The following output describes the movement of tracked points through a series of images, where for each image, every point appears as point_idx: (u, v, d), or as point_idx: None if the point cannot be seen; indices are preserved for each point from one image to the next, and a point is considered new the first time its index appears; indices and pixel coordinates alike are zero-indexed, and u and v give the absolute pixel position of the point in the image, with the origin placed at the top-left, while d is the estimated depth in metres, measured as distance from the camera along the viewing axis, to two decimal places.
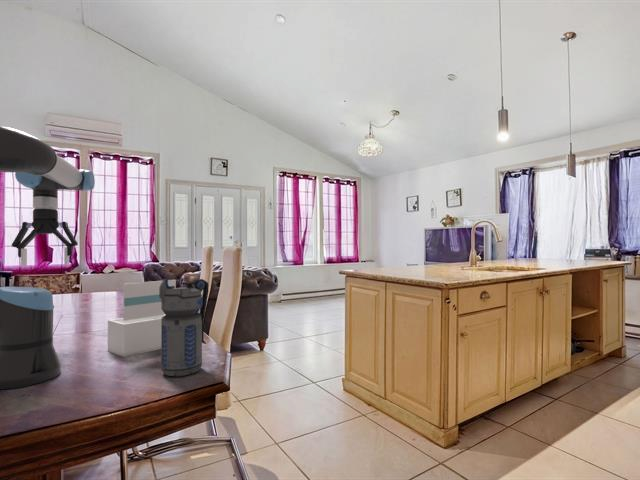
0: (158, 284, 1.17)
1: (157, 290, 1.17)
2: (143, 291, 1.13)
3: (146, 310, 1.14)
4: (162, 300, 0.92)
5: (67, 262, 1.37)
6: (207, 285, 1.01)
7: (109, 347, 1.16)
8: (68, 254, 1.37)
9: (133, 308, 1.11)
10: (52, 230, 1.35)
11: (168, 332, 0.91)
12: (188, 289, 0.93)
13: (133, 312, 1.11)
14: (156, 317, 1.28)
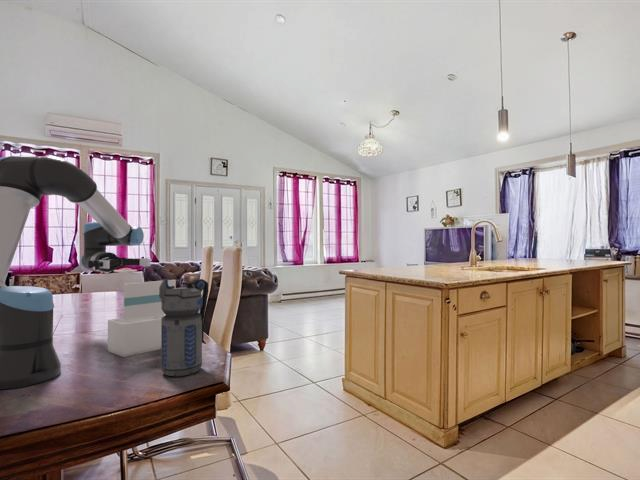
0: (158, 284, 1.17)
1: (157, 290, 1.17)
2: (143, 291, 1.13)
3: (146, 310, 1.14)
4: (162, 300, 0.92)
5: None
6: (207, 285, 1.01)
7: (109, 347, 1.16)
8: None
9: (133, 308, 1.11)
10: None
11: (168, 332, 0.91)
12: (188, 289, 0.93)
13: (133, 312, 1.11)
14: (156, 317, 1.28)
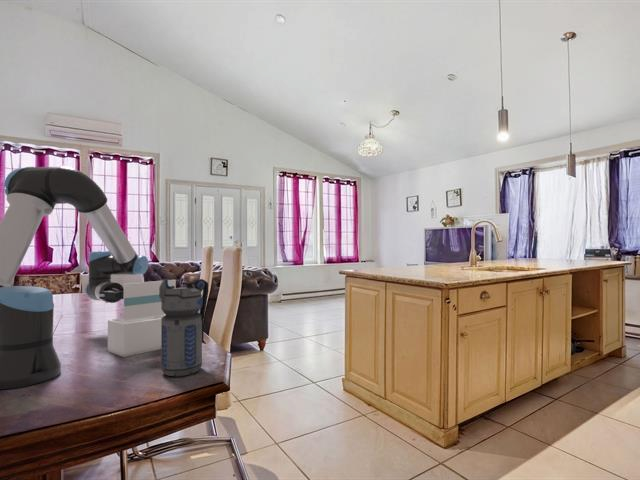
0: (158, 284, 1.17)
1: (157, 290, 1.17)
2: (143, 291, 1.13)
3: (146, 310, 1.14)
4: (162, 300, 0.92)
5: None
6: (207, 285, 1.01)
7: (109, 347, 1.16)
8: None
9: (133, 308, 1.11)
10: None
11: (168, 332, 0.91)
12: (188, 289, 0.93)
13: (133, 312, 1.11)
14: (156, 317, 1.28)
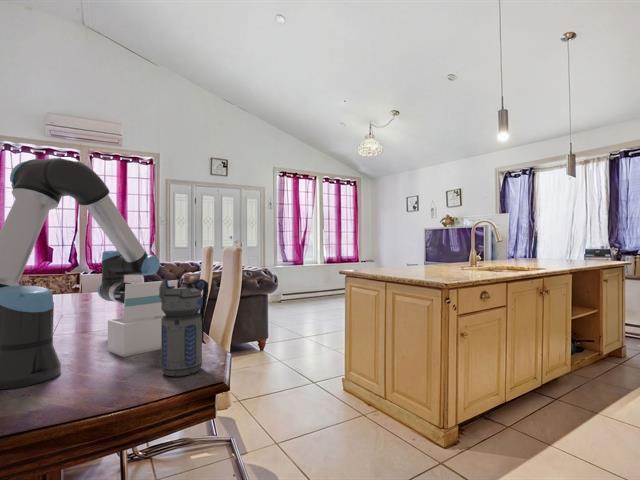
0: None
1: (158, 291, 1.16)
2: (144, 292, 1.13)
3: (146, 310, 1.14)
4: (162, 300, 0.92)
5: None
6: (207, 285, 1.01)
7: (109, 347, 1.16)
8: None
9: (134, 308, 1.11)
10: None
11: (168, 332, 0.91)
12: (188, 289, 0.93)
13: (134, 313, 1.11)
14: (156, 317, 1.28)
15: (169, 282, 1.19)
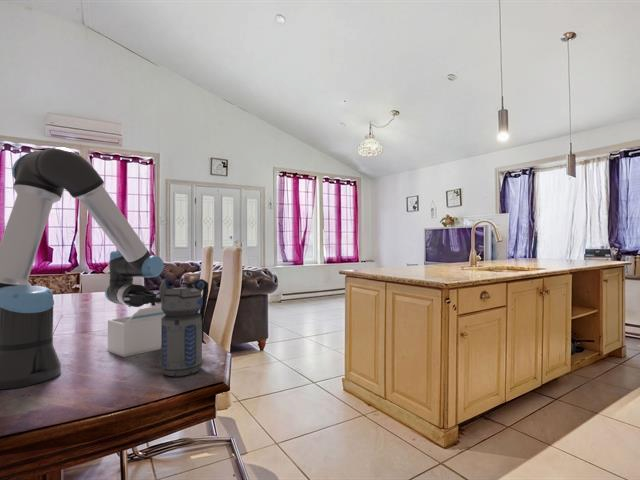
0: None
1: None
2: (155, 311, 1.08)
3: (150, 318, 1.13)
4: (162, 300, 0.92)
5: None
6: (207, 285, 1.01)
7: (109, 347, 1.16)
8: None
9: (138, 319, 1.09)
10: None
11: (168, 332, 0.91)
12: (188, 289, 0.93)
13: (136, 320, 1.10)
14: None
15: None
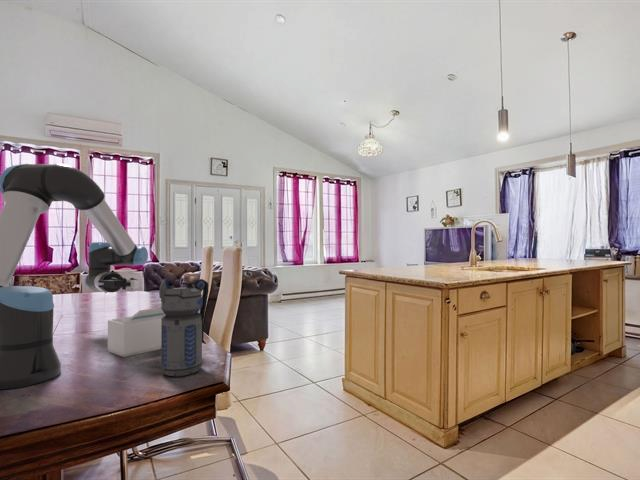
0: None
1: None
2: (155, 312, 1.08)
3: (150, 318, 1.13)
4: (162, 300, 0.92)
5: None
6: (207, 285, 1.01)
7: (109, 347, 1.16)
8: None
9: (138, 319, 1.09)
10: None
11: (168, 332, 0.91)
12: (188, 289, 0.93)
13: (136, 320, 1.10)
14: None
15: None
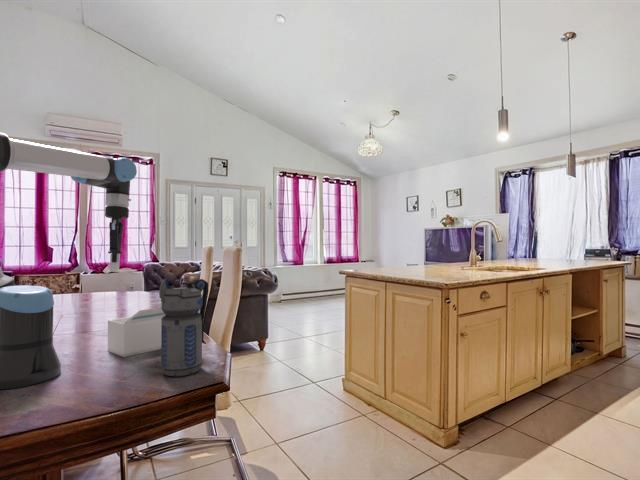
0: None
1: None
2: (155, 312, 1.08)
3: (150, 318, 1.13)
4: (162, 300, 0.92)
5: (112, 269, 1.28)
6: (207, 285, 1.01)
7: (109, 347, 1.16)
8: (112, 261, 1.28)
9: (138, 319, 1.09)
10: None
11: (168, 332, 0.91)
12: (188, 289, 0.93)
13: (136, 320, 1.10)
14: None
15: None
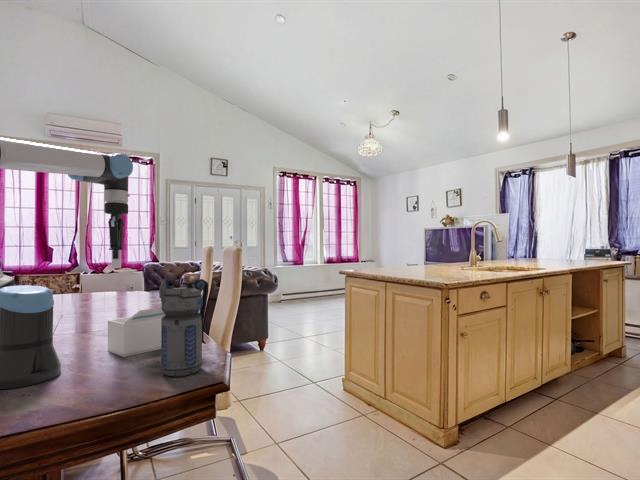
0: None
1: None
2: (155, 312, 1.08)
3: (150, 318, 1.13)
4: (162, 300, 0.92)
5: (114, 266, 1.29)
6: (207, 285, 1.01)
7: (109, 347, 1.16)
8: None
9: (138, 319, 1.09)
10: None
11: (168, 332, 0.91)
12: (188, 289, 0.93)
13: (136, 320, 1.10)
14: None
15: None
